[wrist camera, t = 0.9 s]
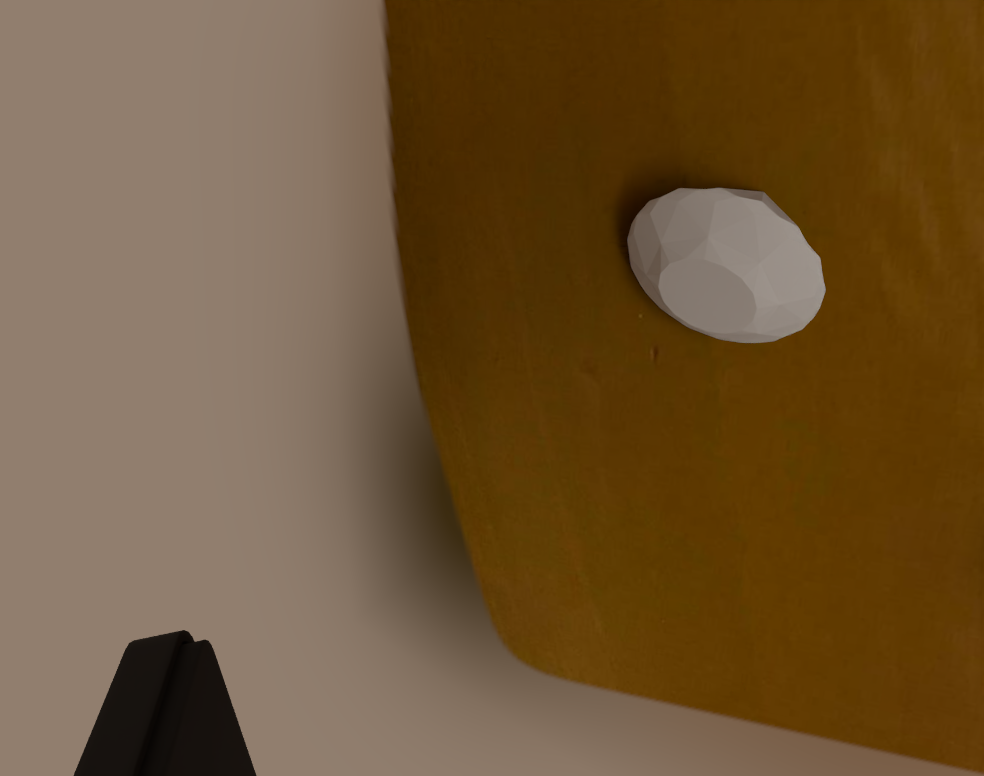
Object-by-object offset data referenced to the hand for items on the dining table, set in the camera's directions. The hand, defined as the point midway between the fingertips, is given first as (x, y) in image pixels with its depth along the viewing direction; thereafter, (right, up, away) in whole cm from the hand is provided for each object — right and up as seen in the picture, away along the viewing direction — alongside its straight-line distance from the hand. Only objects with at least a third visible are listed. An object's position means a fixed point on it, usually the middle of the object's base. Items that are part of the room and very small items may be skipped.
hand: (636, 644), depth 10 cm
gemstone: (+5, +8, +18) cm, 20 cm away
